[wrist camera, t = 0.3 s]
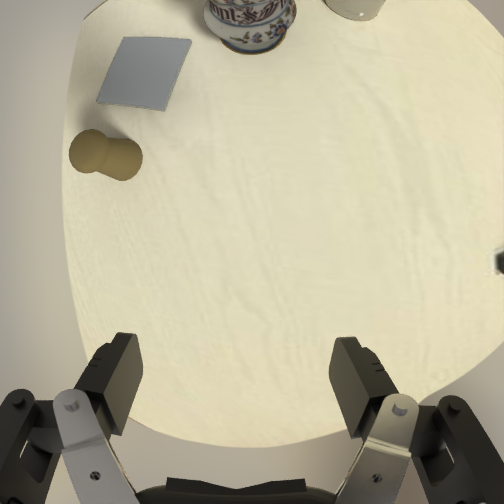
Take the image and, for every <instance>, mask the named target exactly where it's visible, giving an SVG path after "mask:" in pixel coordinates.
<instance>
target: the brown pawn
mask: <svg viewBox="0 0 504 504" xmlns="http://www.w3.org/2000/svg"><path fill="white" fill-rule="evenodd" d="M142 157H143V155H142V151H141V148H140V147H139V145H138V144H137V143H135V142H134V141H131V140H126V139H117V138H108V137H106V136H105V135H104V134H103V133H102V132H100V131H98V130H94V129H90V130H85V131H83V132H81V133H79V134H78V135H77V136H76V137H75V138H74V140H73V141H72V143H71V146H70V149H69V159H70V162H71V164H72V166H73V167H74V168H75V169H76V170H77V171H79V172H82V173H93V172H95V171H97V172H100V173H102V174H104V175H107V176H109V177H112V178H114V179H117V180H119V181H126V180H128V179H131V178H132V177H133V176H135V175H136V174H137V172H138V171H139V169H140V167H141V164H142Z"/></svg>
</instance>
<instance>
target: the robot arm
mask: <svg viewBox="0 0 504 504" xmlns="http://www.w3.org/2000/svg"><path fill="white" fill-rule="evenodd" d="M385 1H386V0H325V2H326V4H327V5H328V6H329V7H330V8H331V9H332V10H333V11H334V12H336V13H337V14H339V15H341V16H343V17H346V18H348V19H352V20H357V21H367V20H371V19H373V18H374V17H375V16H377V14H378V12H379V10H380V9H381V7H382V5H383V4H384V2H385ZM142 375H143V362H142V357H141V353H140V348H139V343H138V338H137V335H136V334H132V333H122V332H118V333H117V334H116V335H115V337H114V339H113V340H112V342H111V343H105V344H104V345H102V346H101V347H100V348H98V349H97V351H96V352H95V354H94V355H93V357H92V359H91V360H90V362H89V363H88V366H87V367H86V368H85V370H84V372H83V373H82V375H81V377H80V379H79V380H78V382H77V384H76V385H75V387H74V389H68V390H65V391H62V392H61V393H59V394H58V395H57V396H56V397H55V399H54V400H48V401H47V400H43V401H42V400H35V398H34V396H33V394H32V393H31V392H30V391H28V390H26V389H17V390H14V391H12V392H11V393H9V394H8V395H7V396H6V398H5V400H4V401H3V402H2V404H1V406H0V504H45V500H46V497H47V494H48V491H49V487H50V484H51V481H52V478H53V475H54V472H55V469H56V466H57V463H58V461H59V458H60V455H61V454H62V456H63V459H64V462H65V465H66V468H67V471H68V473H69V476H70V479H71V481H72V484H73V487H74V489H75V491H76V494H77V496H78V499H79V501H80V503H81V504H394V503H395V501H396V498H397V495H398V493H399V490H400V488H401V485H402V482H403V479H404V477H405V474H406V471H407V467H408V465H409V461H410V458H412V460H413V463H414V465H415V468H416V470H417V473H418V475H419V478H420V480H421V483H422V486H423V488H424V491H425V494H426V497H427V499H428V502H429V504H504V463H503V461H502V459H501V457H500V455H499V454H498V452H497V450H496V449H495V447H494V445H493V444H492V442H491V440H490V438H489V437H488V435H487V434H486V432H485V431H484V429H483V427H482V426H481V424H480V422H479V421H478V419H477V418H476V416H475V415H474V413H473V412H472V410H471V409H470V407H469V405H468V404H467V403H466V402H465V401H464V400H463V399H462V398H460V397H457V396H453V395H449V396H445V397H443V398H442V399H441V400H440V401H439V403H438V405H437V406H420V405H418V404H417V402H416V401H415V400H414V399H413V398H412V397H410V396H408V395H405V394H400V393H399V392H398V390H397V388H396V387H395V385H394V383H393V382H392V380H391V378H390V377H389V375H388V373H387V372H386V371H385V369H384V367H383V365H382V364H381V362H380V360H379V359H378V357H377V356H376V354H375V353H373V352H372V351H371V350H370V349H368V348H367V347H364V348H362V347H361V345H360V343H359V342H358V340H357V338H356V337H339V338H336V340H335V344H334V348H333V353H332V357H331V361H330V365H329V379H330V382H331V385H332V387H333V390H334V393H335V395H336V398H337V401H338V404H339V406H340V409H341V412H342V415H343V417H344V420H345V423H346V426H347V428H348V431H349V434H350V437H351V439H355V438H360V437H361V438H362V440H363V444H362V445H361V447H360V449H359V452H358V453H357V455H356V457H355V459H354V461H353V463H352V465H351V467H350V469H349V471H348V473H347V474H346V476H345V478H344V480H343V482H342V483H341V485H340V486H339V488H338V490H337V491H336V493H335V494H333V493H331V492H329V491H326V490H323V489H319V488H315V487H308V486H306V483H305V479H295V480H283V481H270V482H267V483H263V484H259V485H254V486H250V487H245V488H241V489H232V488H227V487H223V486H219V485H214V484H211V483H207V482H204V481H198V480H187V479H178V478H169V477H167V482H166V485H161V486H156V487H152V488H148V489H145V490H143V491H140V492H137V491H136V489H135V488H134V486H133V484H132V483H131V481H130V480H129V478H128V476H127V474H126V472H125V471H124V469H123V467H122V465H121V463H120V461H119V460H118V458H117V456H116V454H115V452H114V450H113V448H112V446H111V444H110V442H109V439H110V437H111V434H114V435H119V436H121V435H122V432H123V429H124V426H125V424H126V421H127V418H128V415H129V412H130V409H131V406H132V403H133V401H134V398H135V395H136V392H137V390H138V387H139V384H140V381H141V379H142ZM26 440H27V441H28V442H27V444H26V447H25V449H24V451H23V453H22V455H21V458H20V453H21V451H22V449H23V447H24V445H25V442H26ZM446 446H447V447H448V449H449V451H450V453H451V455H452V457H453V459H454V463H453V461H452V459H451V457H450V455H449V453H448V451H447V449H446Z"/></svg>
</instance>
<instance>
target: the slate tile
mask: <svg viewBox="0 0 504 504" xmlns="http://www.w3.org/2000/svg"><path fill="white" fill-rule="evenodd" d="M191 44H192V41H191V40H190V39H178V38H161V37H124V38H123V40H122V42H121V44H120V46H119V49H118V51H117V53H116V55H115V57H114V59H113V62H112V64H111V66H110V68H109V71H108V73H107V75H106V78H105V80H104V83H103V85H102V88H101V90H100V93H99V96H98V98H97V101H96V102H97V103H101V104H111V105H120V106H129V107H137V108H144V109H151V110H158V111H164V112H165V109H166V106H167V103H168V101H169V98H170V95H171V92H172V90H173V87H174V85H175V82H176V79H177V77H178V74H179V72H180V69H181V67H182V65H183V62H184V60H185V58H186V55H187V53H188V51H189V48H190V46H191Z"/></svg>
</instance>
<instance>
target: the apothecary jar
mask: <svg viewBox="0 0 504 504" xmlns="http://www.w3.org/2000/svg"><path fill="white" fill-rule="evenodd" d="M203 15H204V20H205V23H206V25H207V26H208V28H209V29H210V30H211V31H212V32H213V33H214V34H215V35H217V36H218V37H220V39H221V41H222V43H223V44H224V45H225V46H226V47H227V48H229V49H230V50H232V51H234V52H237V53H240V54H245V55H256V54H262V53H265V52H268V51H270V50H272V49H274V48H276V47H277V46H278V45H279V44H280V43H281V42H282V41H283V40H284V38H285V35H286V32H287V29H288V28H289V27H290V26H291V25H292V23H293V21H294V19H295V17H296V4H295V1H294V0H207V1H206V4H205V6H204V11H203Z"/></svg>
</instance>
